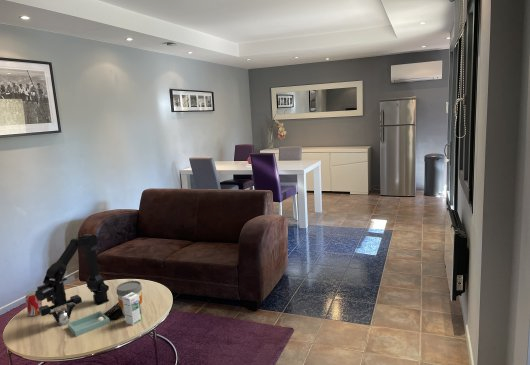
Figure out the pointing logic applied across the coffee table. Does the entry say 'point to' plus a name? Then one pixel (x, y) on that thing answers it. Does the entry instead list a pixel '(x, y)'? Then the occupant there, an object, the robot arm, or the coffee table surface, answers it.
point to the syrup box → (132, 308)
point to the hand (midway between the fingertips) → (63, 320)
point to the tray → (87, 323)
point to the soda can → (32, 304)
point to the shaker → (62, 317)
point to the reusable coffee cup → (128, 291)
